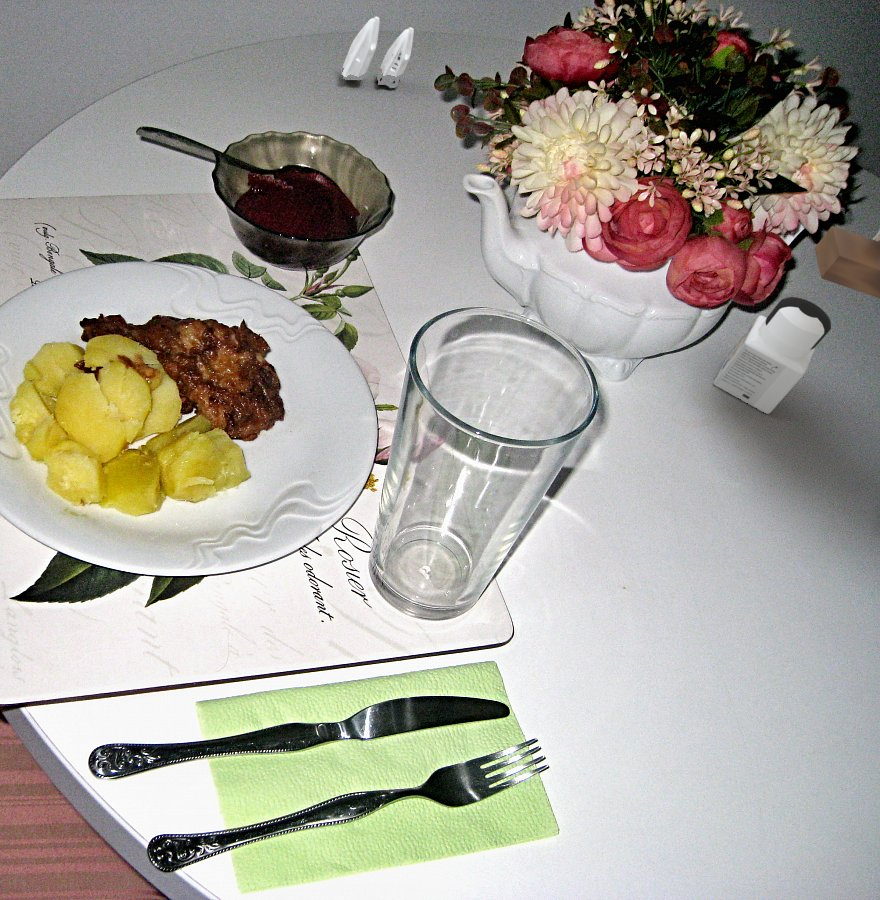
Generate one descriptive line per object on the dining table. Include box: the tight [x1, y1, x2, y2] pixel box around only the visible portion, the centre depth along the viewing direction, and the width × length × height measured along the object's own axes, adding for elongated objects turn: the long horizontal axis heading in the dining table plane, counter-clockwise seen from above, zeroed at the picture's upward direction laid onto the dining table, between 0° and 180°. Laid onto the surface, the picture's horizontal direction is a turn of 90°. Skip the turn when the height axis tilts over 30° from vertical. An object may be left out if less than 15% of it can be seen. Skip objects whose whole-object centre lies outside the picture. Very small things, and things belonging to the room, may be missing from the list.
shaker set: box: [340, 16, 415, 77], centre depth 148 cm, size 12×4×11 cm, turn 106°
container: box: [713, 296, 832, 415], centre depth 113 cm, size 8×8×13 cm
